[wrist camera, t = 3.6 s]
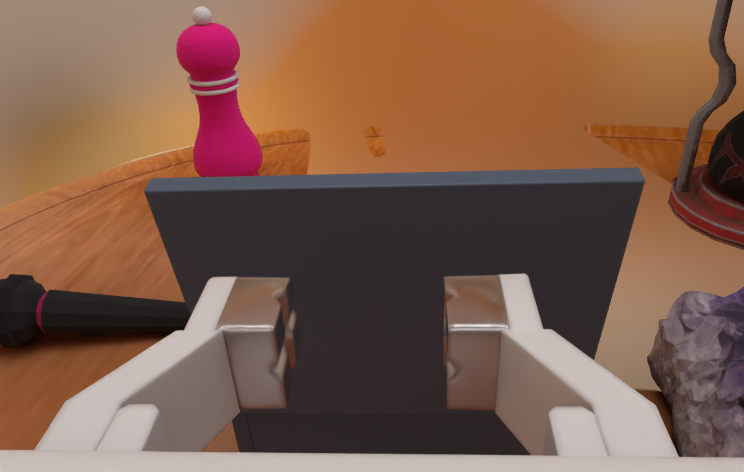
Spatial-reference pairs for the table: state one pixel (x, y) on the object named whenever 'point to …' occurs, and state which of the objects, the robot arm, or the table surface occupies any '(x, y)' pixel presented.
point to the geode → (703, 372)
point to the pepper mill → (217, 100)
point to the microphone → (79, 312)
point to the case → (375, 434)
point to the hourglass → (714, 158)
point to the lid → (399, 263)
